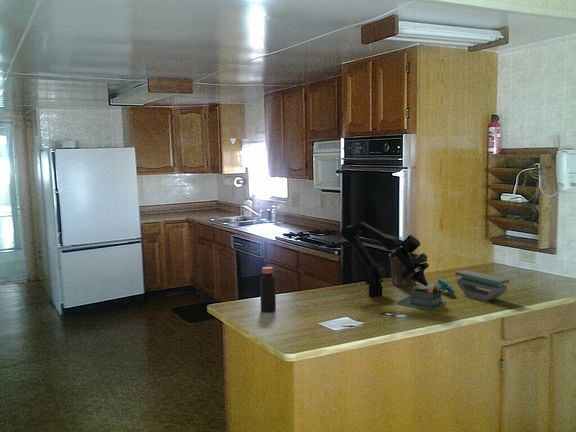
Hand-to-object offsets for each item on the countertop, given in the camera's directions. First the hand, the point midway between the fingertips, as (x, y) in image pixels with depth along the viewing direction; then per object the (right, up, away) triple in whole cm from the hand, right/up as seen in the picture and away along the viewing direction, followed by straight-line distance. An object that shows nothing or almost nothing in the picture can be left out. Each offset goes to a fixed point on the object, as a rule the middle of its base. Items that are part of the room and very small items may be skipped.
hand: (426, 285), depth 249 cm
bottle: (-73, -11, -5) cm, 74 cm away
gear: (+14, -7, +20) cm, 26 cm away
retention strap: (-1, -1, +1) cm, 2 cm away
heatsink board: (-2, -9, +3) cm, 10 cm away
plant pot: (-2, -5, +40) cm, 40 cm away
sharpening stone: (+29, -8, +12) cm, 33 cm away
